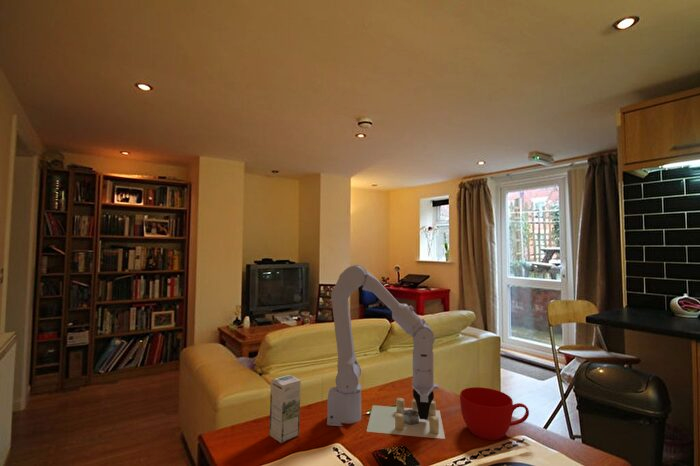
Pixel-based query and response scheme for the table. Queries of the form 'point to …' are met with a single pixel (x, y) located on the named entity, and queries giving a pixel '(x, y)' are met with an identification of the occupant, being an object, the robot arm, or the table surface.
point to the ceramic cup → (488, 412)
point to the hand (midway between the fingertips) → (423, 418)
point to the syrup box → (284, 408)
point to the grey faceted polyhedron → (410, 417)
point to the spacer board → (422, 428)
